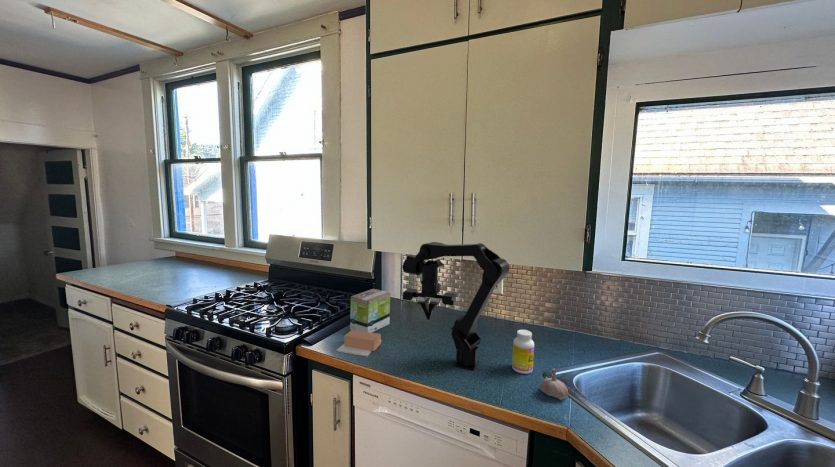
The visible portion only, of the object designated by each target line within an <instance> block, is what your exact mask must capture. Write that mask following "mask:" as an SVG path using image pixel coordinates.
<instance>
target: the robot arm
mask: <svg viewBox="0 0 835 467" xmlns="http://www.w3.org/2000/svg"><path fill="white" fill-rule="evenodd" d="M442 257H443V258H444V257H473V258H474V259H475V261H476V263H477V264H478V266H479V267H480V268H481V269H482V270H483V272H482V274H481V284H480V286H479V287H478V290H477V291H476V293H475V296H474V297H473V299H472V301H471V304H470V305H469V307H468V309H467V311H466V313H465V314H463V315H461V316H460V317H458V318H457V319H455V321H454V324H453V326H452V327H451V328H450V330H451V333H450V334H451V337H452V340H453V343H454V346H455V350H456V351H455V352H456V354H455V360H456V362H455V363H454V365H455V366H456V367H459V368H463V369H465V370H466V369H467V370H471V371H474V370H475V369H476V367H478V366H479V364H480V360H479V345H480V344H481V342H482V338H481V336H480V335H479V334H478V333H477V329H478V320H479V318H480V316H481V315H482V312H483V310H484V309H485V307H486V306H487V304H488V301H489V300H490V297H491V295H492V294H493V293H494V291H495V289H496V287H497V286H498V285H499V284H500V283H501V281H503V280H504V278H506V276H507V275H508V274H509V272H510V268H511V266H510V264H509V263H508V260H506V259H504V258H501V257H500V256H499V255H498V254H497V253H496V252H494V251H493V250H492V249H489V248H488V247H487V246H486V245H485V244H483V243H482V242H478V243H473V244H472V243H468V244H463V243H462V244H459V243H458V244H446V243H443V242H436V241H432V242H427V243H423V244H421V246H420V248H419V251H418V253H417V254H416V255H415V256H414V255H412V254H408V255H406V256H405V260H404V261H403V263H402V271H403V273H405V274H410V275H415V276H421V281H420V285H421V291H420V292H418V289H417V288H410V287H409V288H407V289H406V290H404V291H403V292H402V294H401V295H402V297H401V298H402V300H405V301H411V300H413V299H414V298H418V299H417V300H418V301H417V304H419V305H420V306H421V309H422V310H423V312H424V315H425V318H426V320H427V321H429V320H430V321H431V319H432V318H431V317H432V314H433V312H434V309H435V308H436V307H438V305H439V304H440V303H441V302H442V304H443V305H445V306H454V305H455V303H456V301H457V295H456V293H453V292H444V294H439V293H441V287H442V284H441V283H440V282H439V277H438V276H439V275H438V274H439V268H440V267H443V266H444V264H445V263H443V262H442V261H441V260H440V258H442Z"/></svg>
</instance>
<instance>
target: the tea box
mask: <svg viewBox="0 0 835 467" xmlns="http://www.w3.org/2000/svg"><path fill="white" fill-rule="evenodd" d="M349 311H350V313H349V314H350V315H349V316H350V317H349V319H350V322H349V324H350V325H349V326H350V327H349V329H350V330H349V331H351V330H358V331H364V332H371V333H375V332H376V331H378V330H380V329H382V328H384V327H386V326H389V325H390V321H391V317H390V316H391V315H390V314H391V292H390V291H386V290H381V289H377V288H376V289H375V288H371V289H369V290H365V291H363V292H359V293H357V294H354V295H351V296H350V310H349Z"/></svg>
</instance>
